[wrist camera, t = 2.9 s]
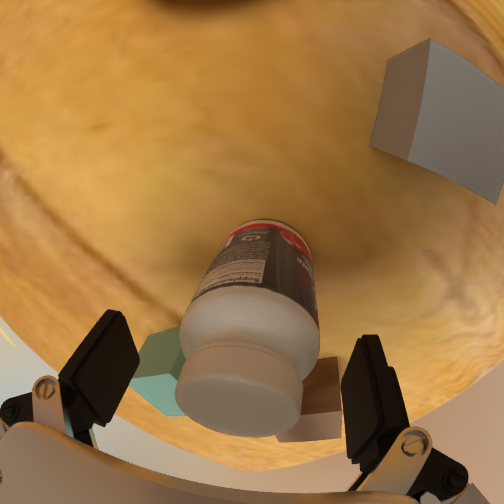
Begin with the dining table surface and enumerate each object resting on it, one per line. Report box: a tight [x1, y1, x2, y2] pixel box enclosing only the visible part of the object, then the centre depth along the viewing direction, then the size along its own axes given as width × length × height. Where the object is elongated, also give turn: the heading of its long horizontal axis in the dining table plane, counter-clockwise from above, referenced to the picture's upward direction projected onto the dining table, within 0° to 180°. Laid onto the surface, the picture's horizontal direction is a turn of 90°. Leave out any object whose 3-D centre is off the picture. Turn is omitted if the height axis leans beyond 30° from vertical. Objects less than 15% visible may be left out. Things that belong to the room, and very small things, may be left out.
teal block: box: [129, 326, 187, 416], centre depth 19 cm, size 5×5×5 cm
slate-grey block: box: [370, 38, 504, 205], centre depth 9 cm, size 5×5×5 cm
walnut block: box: [276, 357, 342, 442], centre depth 18 cm, size 5×5×5 cm
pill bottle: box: [174, 220, 320, 438], centre depth 11 cm, size 5×5×10 cm
